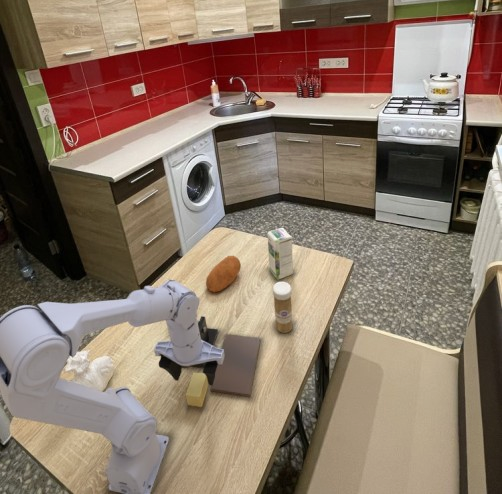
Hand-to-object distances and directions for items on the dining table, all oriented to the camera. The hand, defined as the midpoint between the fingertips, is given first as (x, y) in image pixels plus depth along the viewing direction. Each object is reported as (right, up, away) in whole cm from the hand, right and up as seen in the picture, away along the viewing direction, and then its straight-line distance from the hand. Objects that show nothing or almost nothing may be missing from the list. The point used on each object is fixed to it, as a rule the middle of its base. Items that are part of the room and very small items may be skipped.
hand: (195, 378), depth 74 cm
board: (+9, -2, +8) cm, 12 cm away
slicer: (-1, 0, +13) cm, 13 cm away
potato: (+4, +9, +33) cm, 35 cm away
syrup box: (+22, +11, +35) cm, 43 cm away
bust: (-25, -6, +5) cm, 26 cm away
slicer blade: (-3, +3, +7) cm, 8 cm away
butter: (0, -5, +2) cm, 6 cm away
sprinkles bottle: (+21, +3, +17) cm, 27 cm away
